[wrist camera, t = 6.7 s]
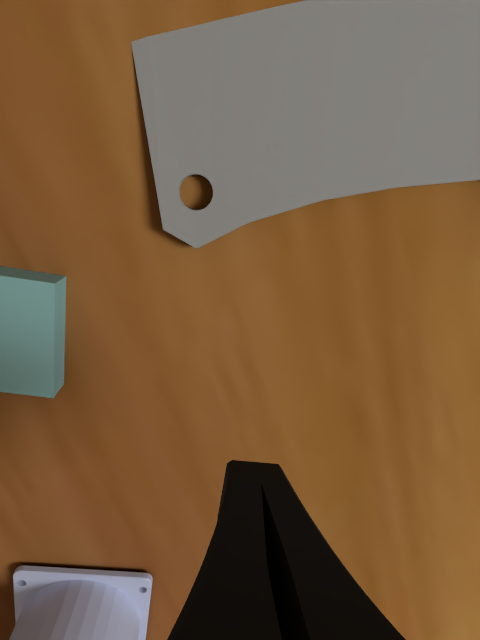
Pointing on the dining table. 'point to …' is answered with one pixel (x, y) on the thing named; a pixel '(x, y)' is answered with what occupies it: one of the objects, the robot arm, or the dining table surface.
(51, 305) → the slat
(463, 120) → the kitchen cleaver
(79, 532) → the dining table surface
